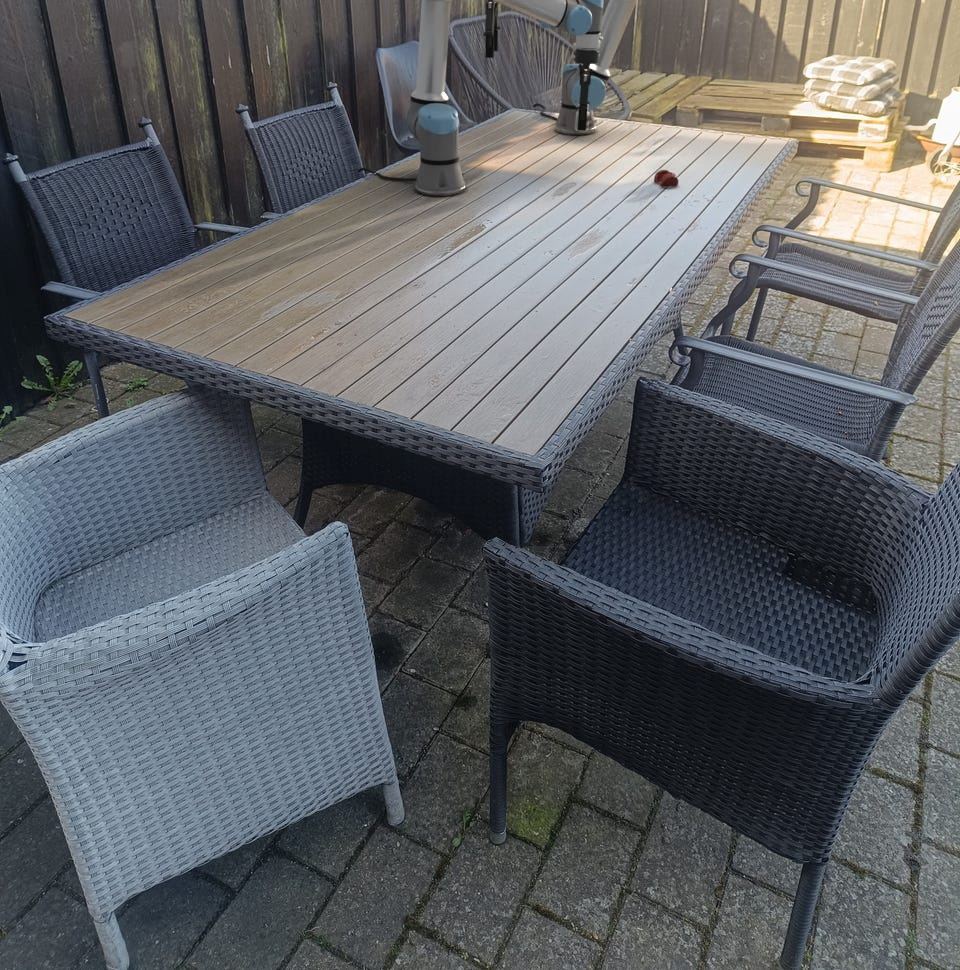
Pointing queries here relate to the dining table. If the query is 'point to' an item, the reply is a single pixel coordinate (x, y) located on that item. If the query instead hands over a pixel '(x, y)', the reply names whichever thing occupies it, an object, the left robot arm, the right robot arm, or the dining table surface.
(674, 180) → the dark red rounded lump
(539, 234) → the dining table surface
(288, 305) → the dining table surface
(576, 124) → the pill bottle
